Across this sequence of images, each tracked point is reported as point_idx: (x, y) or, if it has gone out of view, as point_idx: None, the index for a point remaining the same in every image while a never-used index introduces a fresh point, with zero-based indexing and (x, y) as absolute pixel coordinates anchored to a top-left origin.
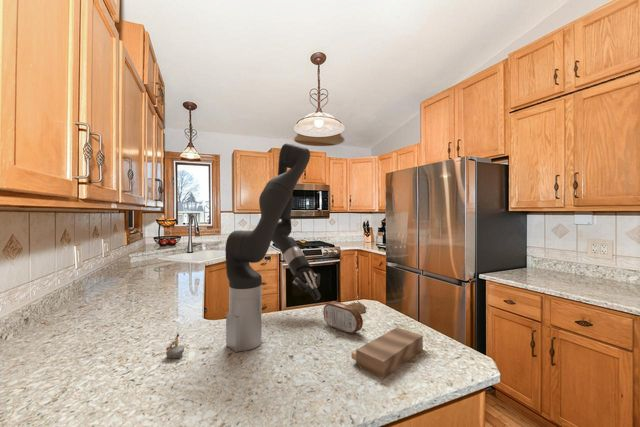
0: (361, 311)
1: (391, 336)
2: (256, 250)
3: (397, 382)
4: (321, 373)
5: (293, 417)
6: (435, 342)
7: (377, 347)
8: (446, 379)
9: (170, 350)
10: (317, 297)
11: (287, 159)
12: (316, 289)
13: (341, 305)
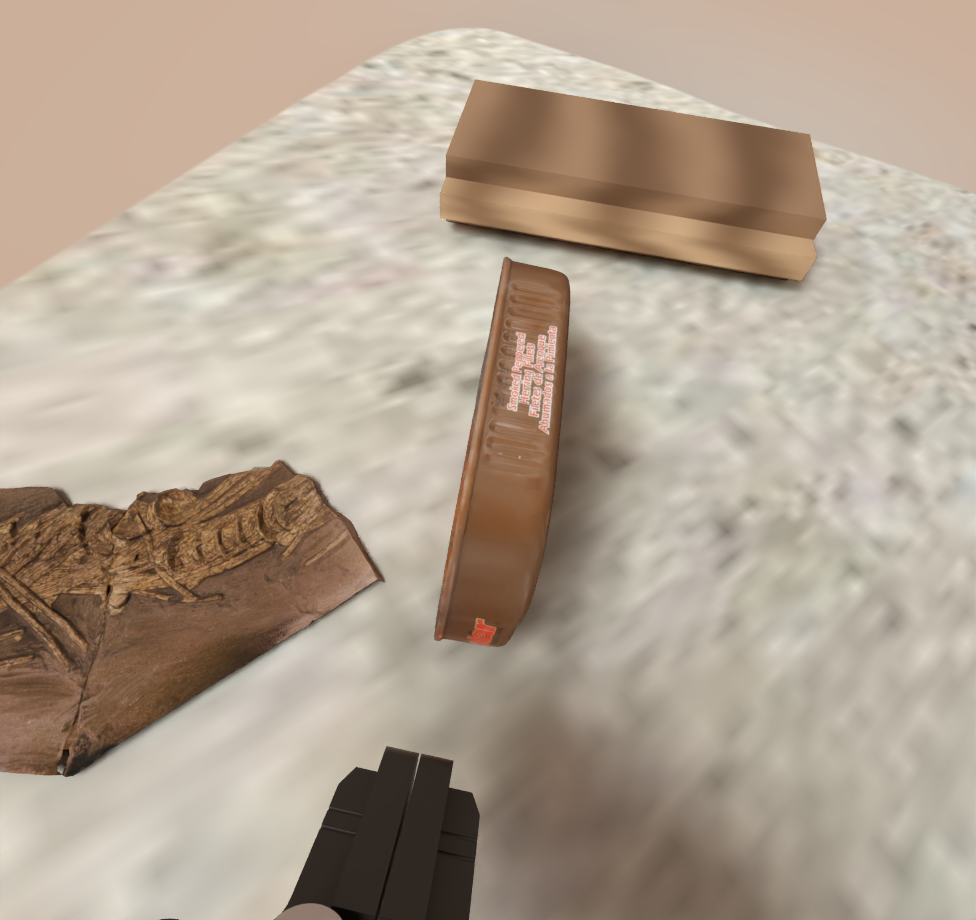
0: (34, 513)
1: (580, 152)
2: None
3: None
4: (954, 355)
5: None
6: (371, 123)
7: (730, 168)
8: (625, 90)
9: None
10: (451, 771)
11: None
12: (351, 876)
13: (525, 367)
